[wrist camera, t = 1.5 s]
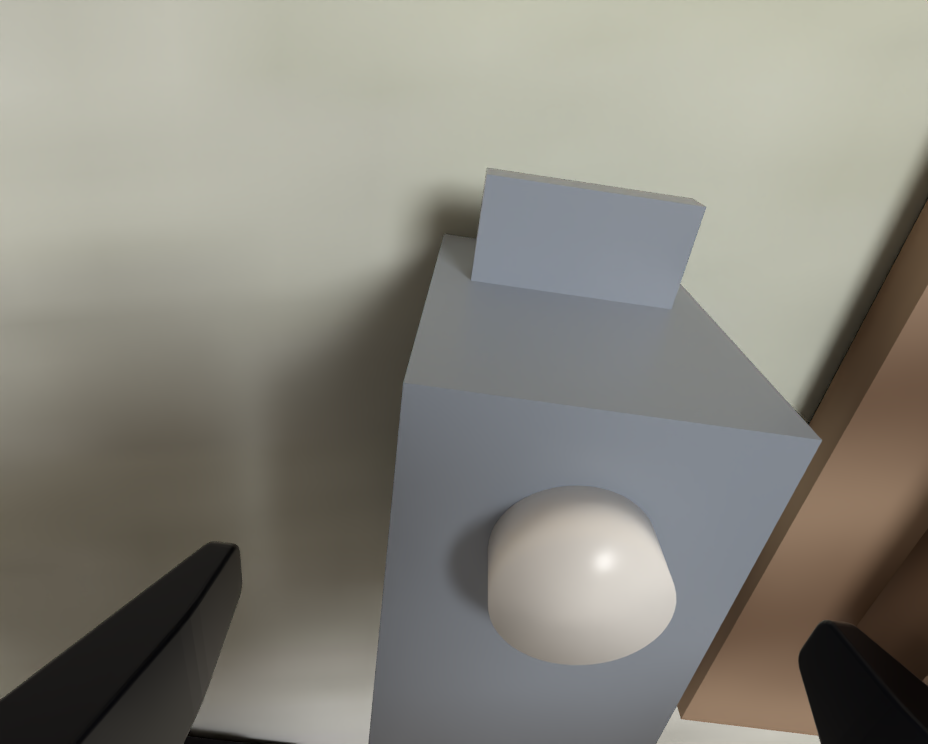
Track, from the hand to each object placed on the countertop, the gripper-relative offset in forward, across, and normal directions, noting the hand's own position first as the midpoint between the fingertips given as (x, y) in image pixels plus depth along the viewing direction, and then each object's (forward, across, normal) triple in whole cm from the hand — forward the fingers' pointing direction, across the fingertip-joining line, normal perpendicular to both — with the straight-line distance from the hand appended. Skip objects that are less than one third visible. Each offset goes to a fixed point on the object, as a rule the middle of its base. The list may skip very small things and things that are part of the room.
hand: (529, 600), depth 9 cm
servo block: (+5, 0, 0) cm, 5 cm away
